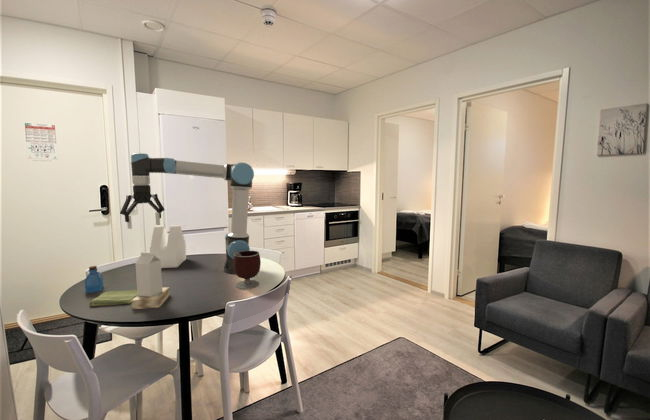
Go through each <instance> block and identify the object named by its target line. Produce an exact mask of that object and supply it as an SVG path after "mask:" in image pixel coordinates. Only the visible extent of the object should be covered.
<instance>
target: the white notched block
mask: <svg viewBox="0 0 650 420" xmlns="http://www.w3.org/2000/svg"><path fill="white" fill-rule="evenodd" d="M151 237H152V238H151V242H150V248H149V253H154V254H155V256H156V257H157V258H159V259H160V260H161V269H165V268H167V269H169V268H178V267H179V266H180V265H181V264H182V263H183V262H185V261H186V259H187V247H186V240H185V237H184V233H183V230H182V226H181V225H170V226H169V232H167V229H166V226H165V225H154V227H153V232H152V236H151Z"/></svg>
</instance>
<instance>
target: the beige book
mask: <svg viewBox="0 0 650 420" xmlns="http://www.w3.org/2000/svg"><path fill="white" fill-rule="evenodd" d="M162 290H163V291H162V292H160V293H158V294H156V295H154V296H152V297H147V296H138V295H137V296H136V297H135V298H134V299H132V300H131V309H132V310H142V309H155V308H156V309H157V308H160V307H161V306H162V305H163V304H164V303H165V301H166V300H167V299H168V298H169V297H170V295H171V292H170V287H169V286H168V287H162Z"/></svg>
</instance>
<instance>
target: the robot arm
mask: <svg viewBox="0 0 650 420" xmlns="http://www.w3.org/2000/svg"><path fill="white" fill-rule="evenodd" d="M130 165H131V166H130V167H131V176H132V177H131V179H132V184H133V185H132V192H133V195H131V194H126V195H125V196H126V198H125V201H124V203H123V205H122V208H121V209H120V212H119V214H120V215H123V216H124V220H125V221H124V222H125V223H127V229H128V230H131V229H133V225H132V215H131V213H132V212H133V211H134V209H135V208H136V207H137V205H139V204H140V205H141V204H148V205H149V206H151V207H152V208H153V210H155V213H154V215H155V217H154V218H155V226H161V220H160V219H161V218H162V212H164V211H165V207H164V206H163V204H162V203H161V201H160V199H159V197H158V194H157V193H152V192H151V185H150V184H151V178H150V177H151V176H150V174H169V175H170V174H173V175H183V176H185V175H186V176H193V177H194V176H195V177H203V178H204V177H205V178H214V179H223V180H224V181H228V182H230V188H231V189H232V205H231V223H230V232H229V233H225V238H224V239H225V259H224V260H225V261H224V265H223V272H224V273H227V274H235V272H234V267H233V259H234V254H235V253H233V252H231V251H235V252H240V251H251V249H250V245H249V244H250V242H249V241H250V235H249V234H248V232H247V231H248V229H247V228H248V216H249V215H248V214H249V213H248V212H249V195H250V190H252V187H253V179H254V176H255V172H254V169H253V168H252V166H251V165H250V164H248V163H246V162H237V163H232V164H230V163H225V164H224V165H223V164H216V163H206V162H205V163H203V162H196V161H195V162H194V161H185V160H176V159H174V158H170V157H149V154H148V153H142V152H141V153H139V152H136V153H131V156H130ZM151 193H152V194H151ZM132 199H133V202H132V204H131V201H132ZM152 199H153V201H154V202H155V203H154V202H153V201H152ZM130 204H131V205H130Z"/></svg>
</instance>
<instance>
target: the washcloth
mask: <svg viewBox="0 0 650 420" xmlns="http://www.w3.org/2000/svg"><path fill="white" fill-rule="evenodd" d="M137 295H138V294H137V289H131V290H129V289H128V290H118V291H117V290H113V291H112V290H111V291H105V292H103V293H101V294H100V295H99V296H98V297H95V298H94V299H92V300H91V301H89V306H90V307H104V306H105V307H107V306H116V305H117V306H119V305H130V304H131V305H132V302H131V300H132V299H134V298H135V297H136V296H137Z"/></svg>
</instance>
